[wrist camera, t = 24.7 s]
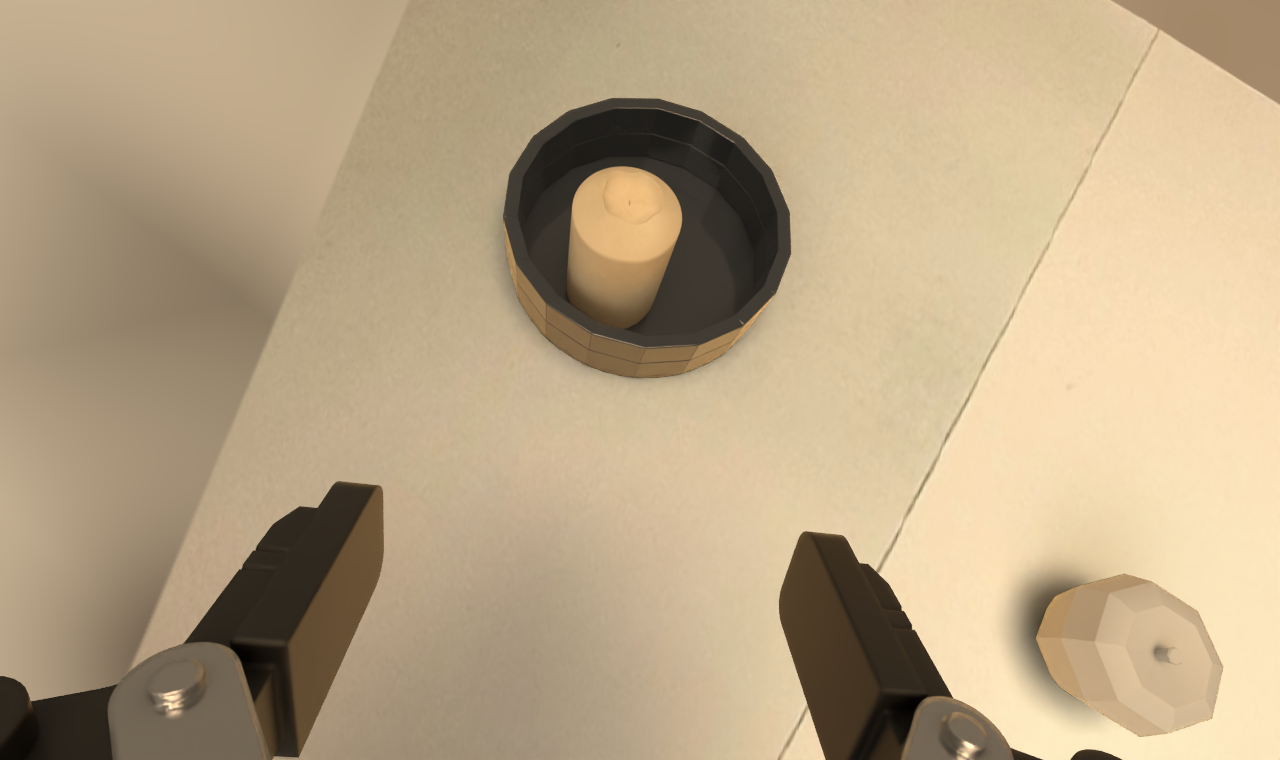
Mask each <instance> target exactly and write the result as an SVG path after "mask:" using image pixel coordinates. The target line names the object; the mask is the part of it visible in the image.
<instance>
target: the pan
mask: <svg viewBox="0 0 1280 760" xmlns="http://www.w3.org/2000/svg"><path fill="white" fill-rule="evenodd" d="M620 166H625V167H633V168H638V169H641V170H645V171H647V172H649V173H652V174H653V175H655V176H657V177H658V178H660V179H661V180H662V181H664V182H665V183H666V184H667V185H668V186H669V187H670V189H671V190H672V191H673V192H674V194H675V195H676V197H677V199H678V201H679V204H680V207H681V212H682V225H681V229H680V233H679V236H678V238H677V241H676V244H675V246H674V249H673V252H672V254H671V257H670V260H669V262H668V265H667V268H666V270H665V273H664V276H663V278H662V281H661V284H660V286H659V289H658V292H657V294H656V297H655V299H654V302H653V304H652V306H651V309H650V310H649V312H648V313H647V314H646V316H645V317H644V318H643V319H642V320H641V321H640V322H638V323H637V324H635V325H633V326H631V327H629V328H626V329H621V328H617V327H613V326H610V325H606V324H602V323H599V322H597V321H595V320H594V319H592V318H591V317H589V316H588V315H586V314H585V313H583V312H582V311H580V310H579V309H577V308H576V307H574V306H573V305H571V304H570V302H569V299H568V295H567V289H566V288H567V268H568V255H569V241H570V228H571V214H572V204H573V199H574V196H575V193H576V191H577V190H578V188H579V187H580V185H581V184H582V183H583V182H584V181H585V180H586V179H587V178H588V177H589V176H591V175H592V174H594V173H596V172H598V171H600V170H603V169H606V168H610V167H620ZM503 221H504V231H505V239H506V249H507V259H508V262H509V266H510V270H511V274H512V279H513V283H514V286H515V289H516V293H517V296H518V299H519V301H520V302H521V304H522V306H523V308H524V309H525V311H526V313H527V314H528V316H529V317H530V319H531V320H532V322H533V323H534V324H535V325H536V327H537V328H538V329H539V330H540V331H541V332H542V334H543V335H544V336H545V337H547V338H548V339H549V340H550V341H551V342H552V343H553V344H554V345H555V346H556V347H558V348H559V349H561V350H562V351H564V352H565V353H566V354H568V355H569V356H571V357H573V358H574V359H576V360H578V361H580V362H582V363H584V364H586V365H588V366H591V367H593V368H596V369H599V370H601V371H604V372H608V373H612V374H616V375H620V376H628V377H636V378H658V377H666V376H673V375H677V374H681V373H685V372H688V371H691V370H694V369H696V368H698V367H701V366H703V365H705V364H707V363H709V362H711V361H712V360H714V359H716V358H717V357H719V356H721V355H722V354H724V353H725V352H726V351H727V350H728V349H729V348H730V347H731V346H732V345H733V344H734V343H735V342H736V341H737V340H738V339H739V338H740V337H741V336H742V335H743V333H744V332H745V331H746V330H747V329H748V328H749V327H750V326H751V325H752V324H753V322H754V321H755V320H756V319H757V317H758V316H759V315H760V313H761V312H762V311H763V309H764V308H765V307H766V305H767V304H768V303H769V302H770V300H771V299H772V298H773V296H774V295H775V294H776V292H777V289H778V286H779V284H780V281H781V279H782V276H783V273H784V271H785V268H786V266H787V263H788V260H789V258H790V255H791V239H790V212H789V209H788V207H787V204H786V202H785V200H784V197H783V195H782V193H781V190H780V188H779V185H778V183H777V181H776V178H775V176H774V174H773V172H772V170H771V169H770V167H769V166H768V165H767V164H766V163H765V162H764V161H763V159H762V158H761V157H760V156H759V155H758V154H757V153H756V151H755V150H754V149H753V148H752V147H751V146H750V145H749V144H748V142H747V141H746V140H745V139H744V138H743V137H741V136H740V135H738V134H737V133H735V132H734V131H732V130H731V129H729V128H727V127H726V126H724V125H723V124H721V123H719V122H718V121H716V120H715V119H713V118H711V117H710V116H708V115H707V114H705V113H703V112H702V111H698V110H695V109H691V108H688V107H685V106H681V105H678V104H675V103H671V102H668V101H665V100H661V99H642V98H611V99H607V100H604V101H601V102H597V103H594V104H590V105H587V106H584V107H580V108H577V109H573V110H570V111H568V112H566V113H565V114H563V115H562V116H561V117H559V118H558V119H557V120H555V121H554V122H552V123H551V124H550V125H548V126H547V127H545V128H544V129H543V130H541V131H540V132H538V133H537V134H536V135H534V136H533V137H532V139H531V140H530V142H529V143H528V145H527V147H526V148H525V150H524V151H523V153H522V155H521V156H520V158H519V159H518V161H517V162H516V164H515V166H514V167H513V169H512V170H511V172H510V174H509V180H508V187H507V194H506V200H505V207H504V214H503Z"/></svg>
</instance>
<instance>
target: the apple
mask: <svg viewBox="0 0 1280 760" xmlns="http://www.w3.org/2000/svg"><path fill="white" fill-rule="evenodd" d="M1036 640H1037V643H1038V645H1039V648H1040V650H1041V653H1042V655H1043V658H1044V660H1045V663H1046V665H1047V668H1048V670H1049V673H1050V675H1051V677H1052V678H1053V679H1054V680H1055V681H1056V683H1057V684H1058V685H1059V686H1060V688H1062V689H1064V690H1065V691H1067V692H1068V693H1070V694H1071V695H1073V696H1074V697H1076V698H1078V699H1079V700H1081V701H1082V702H1084V703H1085V704H1087V705H1089V706H1090V707H1092V708H1093V709H1095V710H1096V711H1098V712H1099V713H1101V714H1103V715H1104V716H1106V717H1107V718H1109V719H1111V720H1112V721H1114V722H1116V723H1117V724H1119V725H1121V726H1122V727H1124V728H1126V729H1127V730H1129V731H1131V732H1132V733H1134V734H1136V735H1137V736H1139V737H1143V736H1151V735H1159V734H1168V733H1171V732H1174V731H1177V730H1180V729H1183V728H1186V727H1189V726H1192V725H1195V724H1197V723H1200V722H1203V721H1206V720H1209V719H1212V716H1213V712H1214V707H1215V703H1216V698H1217V693H1218V689H1219V684H1220V680H1221V675H1222V671H1223V665H1222V663H1221V661H1220V659H1219V657H1218V654H1217V652H1216V650H1215V648H1214V646H1213V643H1212V641H1211V639H1210V637H1209V635H1208V632H1207V630H1206V628H1205V626H1204V624H1203V621H1202V619H1201V617H1200V615H1199V613H1198V611H1197V610H1195V609H1194V608H1192V607H1190V606H1189V605H1187V604H1186V603H1184V602H1183V601H1181V600H1180V599H1178V598H1176V597H1175V596H1173V595H1172V594H1170V593H1169V592H1167V591H1166V590H1164V589H1162V588H1161V587H1159V586H1158V585H1156V584H1155V583H1153V582H1151V581H1148V580H1144V579H1141V578H1137V577H1134V576H1130V575H1127V574H1122V575H1118V576H1114V577H1111V578H1107V579H1103V580H1099V581H1095V582H1092V583H1088V584H1084V585H1080V586H1077V587H1075V588H1073V589H1070V590H1068V591H1066V592H1063V593H1061V594H1059V595H1057V596H1055V597H1054V599H1053V600H1052V602H1051V603H1050V604H1049V606H1048V607H1047V609H1046V612H1045V615H1044V618H1043V620H1042V623H1041V626H1040V628H1039V631H1038V634H1037V637H1036Z"/></svg>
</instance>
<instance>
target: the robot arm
mask: <svg viewBox="0 0 1280 760" xmlns="http://www.w3.org/2000/svg"><path fill="white" fill-rule="evenodd" d="M383 553H384V535H383V490H382V487H381V486H378V485H369V484H359V483H350V482H340V481H338V482H336V483H335V484H334V485H333V486H332V487H331V489H330V490H329V492H328V493H327V495H326V496H325V498H324V499H323V501H322V502H321V504H320V505H319V507H318V508H311V507H301V506H300V507H298V508H297V509H295V510H294V511H292V512H291V513H289V514H288V515H286V516H285V517H283V518H282V519H280V520H279V521H277V522H276V523H274V524H273V525H272V526H271V528H270V529H269V530H268V532H267V533H266V534H265V536H264V537H263V538H262V540H261V541H260V542H259V544H258V545H257V548H256V551H253V552H252V553H251V554H250V556H249V557H248V558H247V560H246V561H245V563H244V564H243V567H242V570H239V571H238V572H237V573H236V575H235V576H234V577H233V579H232V580H231V581H230V583H229V584H228V585H227V587H226V588H225V589H224V591H223V592H222V593H221V595H220V596H219V597H218V599H217V600H216V601H215V603H214V604H213V605H212V607H211V608H210V609H209V611H208V612H207V613H206V615H205V616H204V617H203V619H202V620H201V621H200V623H199V624H198V625H197V627H196V628H195V629H194V631H193V632H192V633H191V635H190V636H189V637H188V639H187V640H186V641H185V642H184V644H183V645H179V646H175V647H172V648H169V649H167V650H164V651H162V652H159V653H157V654H155V655H153V656H151V657H149V658H148V659H146V660H145V661H143V662H142V663H140V664H138V665H137V666H136V667H135V668H133V669H132V670H131V671H130V672H129V673H128V674H127V675H126V676H125V677H124V678H123V679H122V680H121V681H120V682H119V684H117V685H114V686H110V687H105V688H101V689H96V690H91V691H85V692H80V693H75V694H70V695H64V696H58V697H53V698H48V699H43V700H37V701H30V698H29V695H28V693H27V690H26V688H25V687H24V686H23V685H22V684H21V683H20V682H18V681H17V680H15V679H12V678H8V677H5V676H0V760H272V759H273V757H274V756H284V757H299V755H300V753H301V751H302V749H303V747H304V744H305V742H306V740H307V738H308V736H309V733H310V731H311V729H312V727H313V724H314V722H315V720H316V718H317V716H318V713H319V711H320V709H321V707H322V705H323V702H324V700H325V698H326V696H327V694H328V691H329V689H330V687H331V685H332V682H333V680H334V678H335V676H336V674H337V671H338V669H339V667H340V665H341V663H342V660H343V658H344V656H345V654H346V652H347V649H348V647H349V645H350V643H351V640H352V638H353V636H354V634H355V632H356V629H357V627H358V625H359V623H360V621H361V618H362V616H363V614H364V612H365V610H366V607H367V605H368V603H369V601H370V598H371V596H372V594H373V592H374V590H375V587H376V585H377V582H378V579H379V576H380V572H381V567H382V562H383ZM779 614H780V620H781V624H782V627H783V630H784V633H785V636H786V639H787V642H788V646H789V649H790V652H791V655H792V658H793V661H794V664H795V667H796V670H797V673H798V676H799V679H800V682H801V685H802V689H803V692H804V695H805V698H806V701H807V704H808V707H809V710H810V713H811V716H812V719H813V722H814V725H815V728H816V732H817V735H818V738H819V741H820V744H821V747H822V750H823V753H824V756H825V759H826V760H1042V759H1039V758H1036V757H1034V756H1031V755H1028V754H1025V753H1023V752H1020V751H1017V750H1015V749H1012V748H1010V746H1009V745H1008V743H1007V741H1006V739H1005V738H1004V736H1003V735H1002V734H1001V732H1000V731H999V730H998V729H997V727H996V726H995V725H994V724H993V723H992V722H991V721H990V720H989V719H987V718H986V717H985V716H984V715H983V714H981V713H980V712H979V711H977V710H976V709H974V708H973V707H971V706H969V705H967V704H965V703H963V702H961V701H959V700H956V699H953V697H952V695H951V693H950V692H949V690H948V688H947V686H946V685H945V683H944V681H943V679H942V677H941V676H940V674H939V672H938V670H937V669H936V667H935V665H934V663H933V661H932V660H931V658H930V656H929V654H928V653H927V651H926V649H925V647H924V646H923V644H922V642H921V640H920V638H919V637H918V635H917V633H916V631H915V630H912V624H911V623H910V621H909V619H908V617H907V615H906V614H905V612H904V611H902V610H901V605H900V603H899V601H898V600H897V598H896V596H895V594H894V592H893V591H892V589H891V587H890V585H889V584H888V583H887V582H886V581H885V580H884V579H883V578H882V577H881V576H880V575H879V574H878V573H877V572H876V571H875V570H874V569H873V568H872V567H871V566H869V565H868V564H861V563H859V562H858V560H857V558H856V556H855V554H854V552H853V551H852V549H851V547H850V545H849V543H848V541H847V540H846V538H845V537H844V536H842V535H835V534H826V533H816V532H807V531H806V532H803V533H802V534H801V535H800V537H799V539H798V542H797V545H796V548H795V551H794V554H793V556H792V559H791V562H790V565H789V568H788V571H787V574H786V576H785V579H784V582H783V585H782V588H781V592H780V598H779ZM1071 760H1121V759H1120V758H1118V757H1115V756H1113V755H1111V754H1108V753H1105V752H1102V751H1098V750H1088V749H1086V750H1081V751H1079V752H1077V753H1076V754H1075V755H1074V756H1073V757H1072V758H1071Z"/></svg>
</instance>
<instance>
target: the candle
mask: <svg viewBox="0 0 1280 760" xmlns="http://www.w3.org/2000/svg"><path fill="white" fill-rule="evenodd" d="M681 225H682V212H681V207H680V204H679V201H678V199H677V197H676V195H675V194H674V192H673V191H672V190H671V189H670V187H669V186H668V185H667V184H666V183H665V182H664V181H662V180H661V179H660V178H658V177H657V176H655V175H653V174H652V173H649V172H647V171H645V170H641V169H638V168H633V167H625V166H620V167H610V168H606V169H603V170H600V171H598V172H596V173H594V174H592V175H591V176H589V177H588V178H587V179H586V180H585V181H584V182H583V183H582V184H581V185H580V187H579V188H578V190H577V191H576V193H575V196H574V199H573V204H572V214H571V228H570V241H569V255H568V268H567V288H566V289H567V295H568V299H569V302H570V304H571V305H573V306H574V307H576V308H577V309H579V310H580V311H582V312H583V313H585V314H586V315H588V316H589V317H591V318H592V319H594V320H595V321H597V322H599V323H602V324H606V325H610V326H613V327H617V328H621V329H626V328H629V327H631V326H633V325H635V324H637V323H638V322H640V321H641V320H642V319H643V318H644V317H645V316H646V314H647V313H648V312H649V310H650V309H651V306H652V304H653V302H654V299H655V297H656V294H657V292H658V289H659V286H660V284H661V281H662V278H663V276H664V273H665V270H666V268H667V265H668V262H669V260H670V257H671V254H672V252H673V249H674V246H675V244H676V241H677V238H678V236H679V233H680V229H681Z"/></svg>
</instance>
